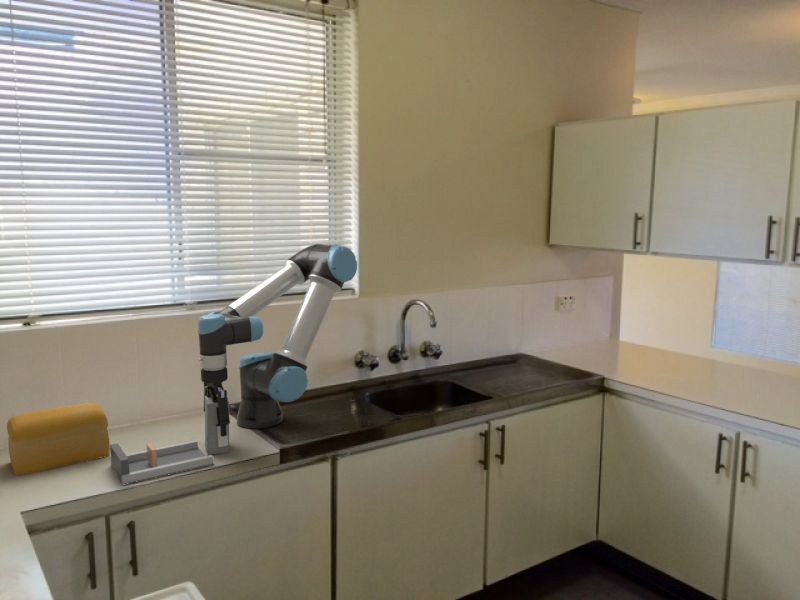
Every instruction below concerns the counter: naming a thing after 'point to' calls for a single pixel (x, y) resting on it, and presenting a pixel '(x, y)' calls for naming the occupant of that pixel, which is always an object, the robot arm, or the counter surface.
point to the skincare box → (213, 428)
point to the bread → (57, 437)
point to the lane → (167, 461)
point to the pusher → (151, 455)
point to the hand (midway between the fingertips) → (217, 441)
